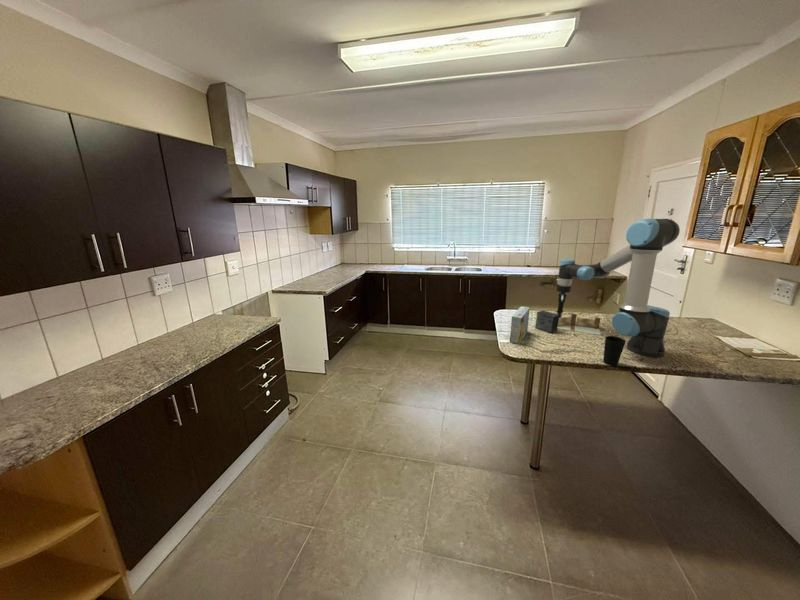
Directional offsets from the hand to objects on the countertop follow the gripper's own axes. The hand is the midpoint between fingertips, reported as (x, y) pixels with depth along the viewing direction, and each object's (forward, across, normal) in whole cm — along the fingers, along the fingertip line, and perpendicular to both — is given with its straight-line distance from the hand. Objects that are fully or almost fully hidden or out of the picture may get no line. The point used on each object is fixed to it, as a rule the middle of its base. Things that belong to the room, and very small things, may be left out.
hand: (558, 322), depth 190 cm
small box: (+2, +12, -6) cm, 14 cm away
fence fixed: (+2, -4, +14) cm, 15 cm away
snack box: (+2, +31, -19) cm, 37 cm away
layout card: (+2, -1, +8) cm, 8 cm away
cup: (+2, +44, +23) cm, 50 cm away
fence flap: (+1, +1, +2) cm, 3 cm away
